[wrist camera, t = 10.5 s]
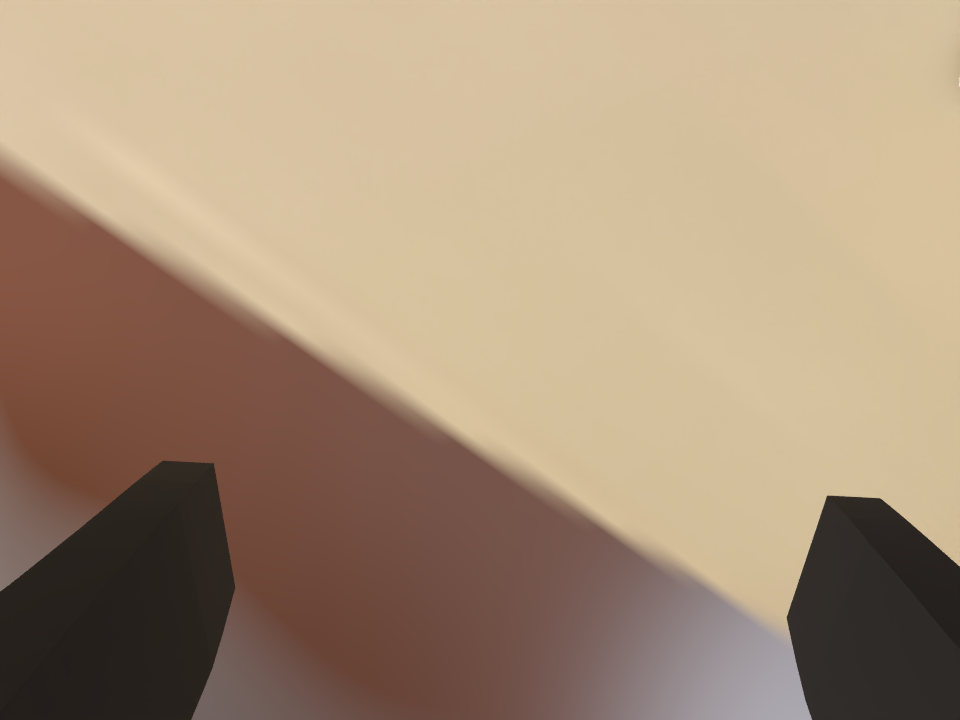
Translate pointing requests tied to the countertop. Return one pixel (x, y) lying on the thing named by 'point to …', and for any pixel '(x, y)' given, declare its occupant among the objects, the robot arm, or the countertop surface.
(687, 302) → the countertop surface
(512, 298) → the countertop surface
